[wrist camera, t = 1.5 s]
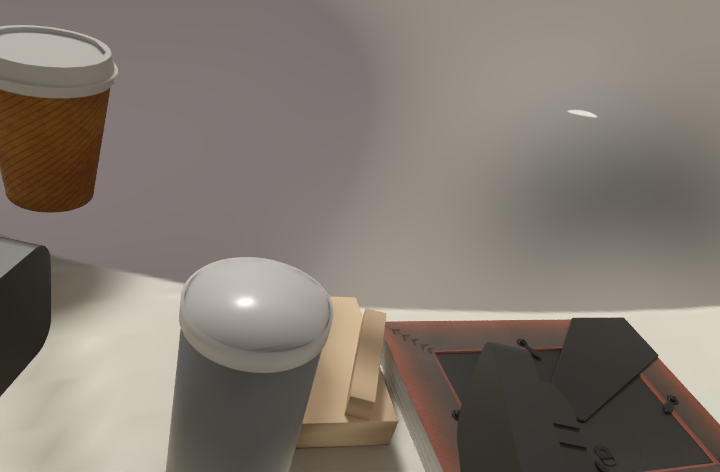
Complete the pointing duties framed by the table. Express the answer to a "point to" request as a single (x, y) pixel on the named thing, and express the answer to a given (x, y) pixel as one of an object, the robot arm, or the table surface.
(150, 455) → the table surface
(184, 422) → the domed lid canister
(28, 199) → the disposable coffee cup
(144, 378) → the table surface
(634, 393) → the picture frame
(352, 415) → the stand
